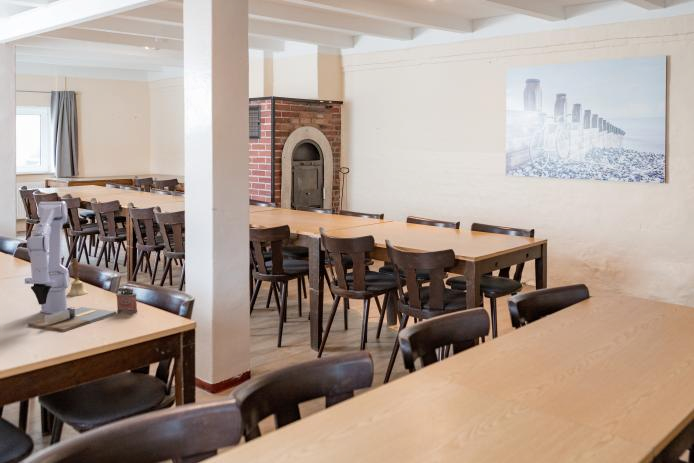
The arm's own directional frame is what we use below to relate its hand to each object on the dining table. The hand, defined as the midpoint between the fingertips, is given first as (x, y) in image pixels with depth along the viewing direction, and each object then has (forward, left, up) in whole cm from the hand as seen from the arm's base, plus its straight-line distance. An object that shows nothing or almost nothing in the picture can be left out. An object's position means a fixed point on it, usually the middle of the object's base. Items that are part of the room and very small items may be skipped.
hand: (42, 303), depth 256 cm
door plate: (+5, +15, -8) cm, 18 cm away
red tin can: (+16, +26, -8) cm, 32 cm away
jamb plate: (+5, +2, -8) cm, 10 cm away
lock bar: (+5, +3, -6) cm, 9 cm away
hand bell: (-27, +42, -8) cm, 50 cm away
